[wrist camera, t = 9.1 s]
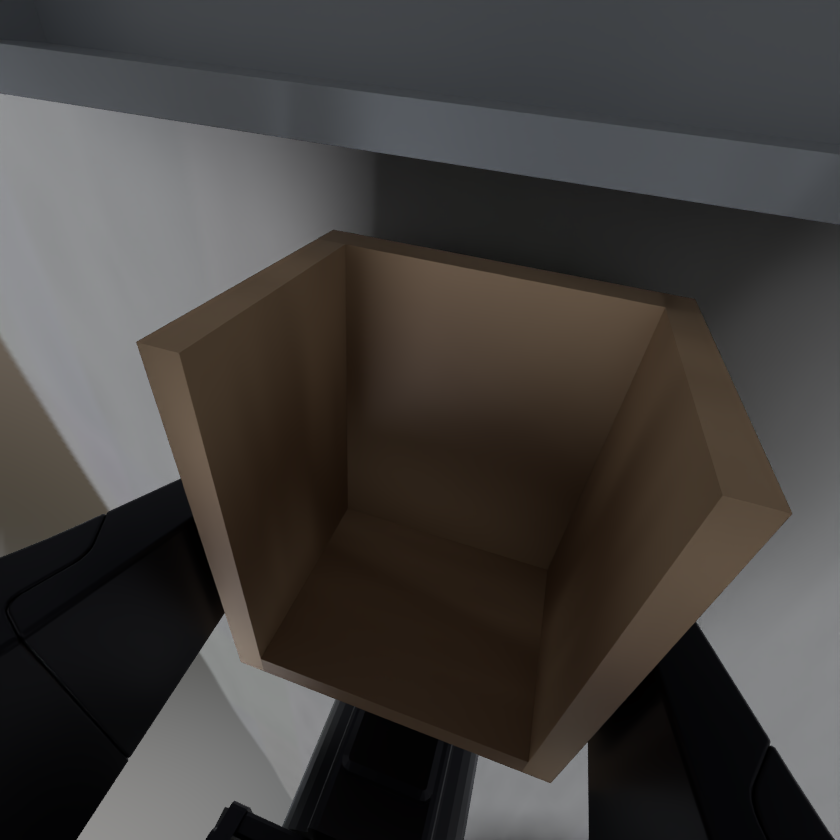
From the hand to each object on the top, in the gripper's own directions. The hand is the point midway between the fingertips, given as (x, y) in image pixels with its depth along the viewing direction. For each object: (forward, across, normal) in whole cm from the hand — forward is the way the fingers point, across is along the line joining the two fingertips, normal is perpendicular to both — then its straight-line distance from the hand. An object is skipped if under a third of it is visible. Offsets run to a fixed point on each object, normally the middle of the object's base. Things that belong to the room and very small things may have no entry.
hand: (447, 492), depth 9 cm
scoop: (+2, 0, 0) cm, 2 cm away
